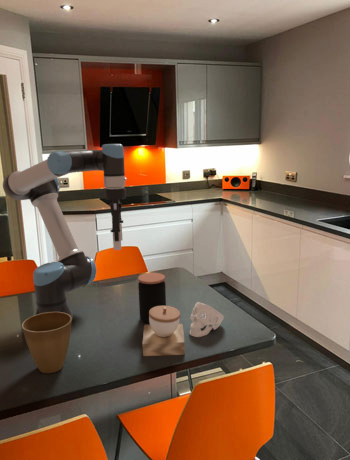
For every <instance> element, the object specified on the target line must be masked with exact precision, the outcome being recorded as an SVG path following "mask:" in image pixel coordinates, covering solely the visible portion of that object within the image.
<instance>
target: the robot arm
mask: <svg viewBox="0 0 350 460" xmlns="http://www.w3.org/2000/svg"><path fill="white" fill-rule="evenodd" d="M93 171H96V172H97V171H99V172H101V171H103V186H104V198H105V199H106V200H108V201H110V200H111V201H112V202H111V203H110V204H109V205H110V214H111V229H110V233H112V245H113V251H121V250H122V241H123V225H122V224H124V220H122V207H123V206H122V204H123V203H122V202H121V200H124V199H126V198H127V189H126V188H125V187H126V181H127V177H126V176H125V175H126V172H125V151H124V146H123V144H121V143H107V144H106V143H105V144H102V145H101V149H84V150H83V149H82V150H58V151H57V150H56V151H54V152H53V151H52V152H51V153H50V154H48V156H47V158H46V159H45V160H42V161H41V162H38V163H36V164H33V165H31V166H30V167H27V168H25V169H23V170H17V171H16V170H15V171H13V172H11V173H9V174H8V175H6V176H5V177H4V179H3V181H2V189H3V192H4V193H5V195H6V196H8V198H10V199H12V200H16V201H27V200H29V201H30V203H31V205H32V206H33V207H36V208H37V209H38V213H39V214H40V216H41V219H42V220H43V223H44V226H45V228H46V230H47V233H48V235H49V238H50V240H51V242H52V244H53V247H54V248H55V251H56V254H57V256H58V260H57V261H51V262H46V263H43V264H41V265H39V266H37V267H36V268H35V269H34V271H33V272H32V273H33V274H32V279H33V280H32V281H33V286H34V287H33V288H34V296H35V310H34V315H37V314H41V313H46V312H63V313H67V314H69V315H70V316H71V318H72V321H71V323H72V322H73V319H74V318H73V317H74V316H73V312H72V310H71V307H70V306H69V303H68V301H67V293H68V292H71V291H74V290H77V289H79V288H82V287H86V286H88V285H89V284H92V283H93V282H94V281H95V279H96V277H97V266H96V265H97V264H96V263H95V260H94V259H93V258H92V257H90V256H87V255H86V254H85V252H84V250H80V249H79V247H78V245H77V243H76V241H75V239H74V236H73V234H72V232H71V229H70V228H69V225H68V223H67V220H66V219H65V216H64V214H63V211H62V209H61V207H60V205H59V202H58V197H59V192H60V182H59V178H60V177H63V176H66V175H68V174H72V173H73V174H74V173H82V172H84V173H85V172H93ZM34 315H33V316H34Z"/></svg>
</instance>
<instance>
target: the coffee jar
mask: <svg viewBox="0 0 350 460" xmlns="http://www.w3.org/2000/svg"><path fill="white" fill-rule="evenodd" d="M137 280H138V283H137V284H138V285H137V286H138V305H139V306H138V307H139V319H140V321H141V322H142V323H143V324H144V325H150V323H149V311H150V309H151V308H153V307H156V306H167V299H166V298H167V296H166V295H167V293H166V291H167V290H166V282H165V280H166V276H165V275H164V274H162V273H159V272H148V273H143V274H140V275H139V276H138V278H137Z"/></svg>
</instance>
